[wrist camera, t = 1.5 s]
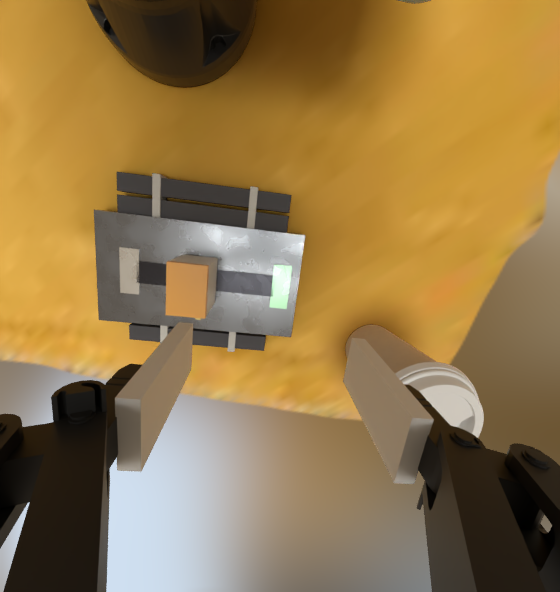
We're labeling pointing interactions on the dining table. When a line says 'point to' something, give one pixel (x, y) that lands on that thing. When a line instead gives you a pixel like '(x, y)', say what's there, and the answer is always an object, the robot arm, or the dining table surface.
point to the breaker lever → (190, 285)
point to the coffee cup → (427, 378)
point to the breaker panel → (199, 242)
